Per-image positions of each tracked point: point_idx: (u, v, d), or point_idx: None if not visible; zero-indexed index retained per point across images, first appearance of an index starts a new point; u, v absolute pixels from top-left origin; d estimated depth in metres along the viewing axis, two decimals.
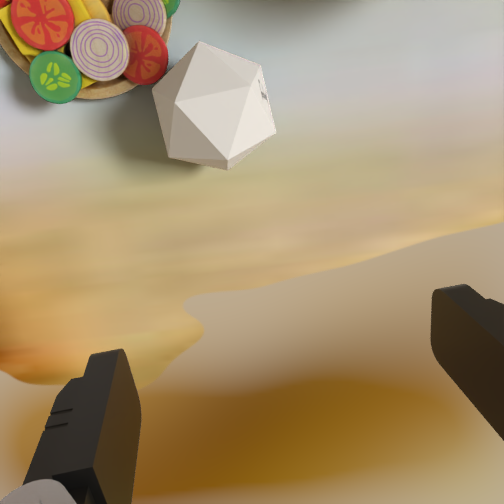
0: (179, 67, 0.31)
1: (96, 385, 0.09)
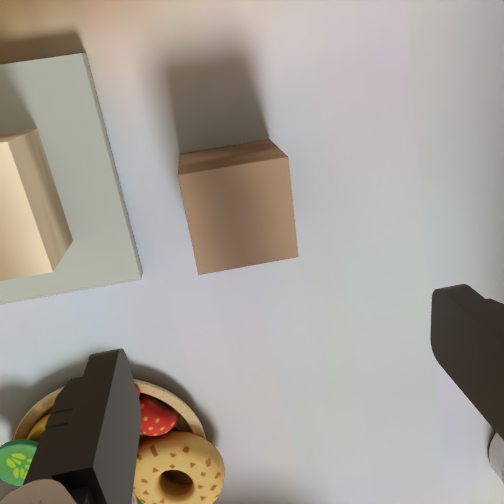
0: None
1: (96, 385, 0.09)
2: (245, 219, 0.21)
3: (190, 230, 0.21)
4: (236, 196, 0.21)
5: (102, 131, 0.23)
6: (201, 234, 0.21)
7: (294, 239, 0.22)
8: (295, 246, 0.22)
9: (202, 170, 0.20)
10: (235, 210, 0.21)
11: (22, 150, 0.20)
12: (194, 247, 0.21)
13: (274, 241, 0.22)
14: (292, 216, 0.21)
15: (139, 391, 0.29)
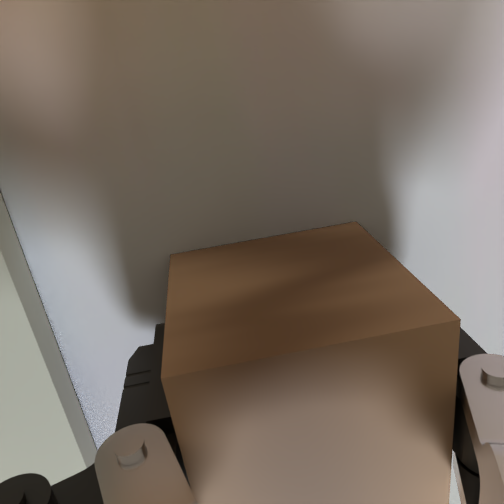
0: None
1: None
2: (334, 461, 0.08)
3: (195, 493, 0.08)
4: (315, 414, 0.08)
5: None
6: (222, 499, 0.08)
7: (445, 489, 0.09)
8: (444, 500, 0.09)
9: (229, 360, 0.07)
10: (310, 444, 0.08)
11: None
12: None
13: (398, 496, 0.09)
14: (448, 445, 0.09)
15: None
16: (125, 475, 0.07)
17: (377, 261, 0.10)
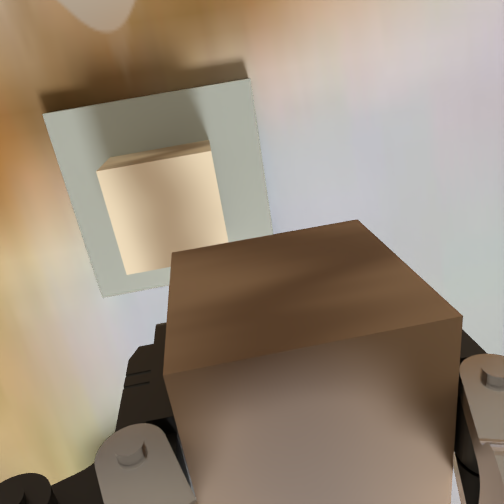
0: None
1: None
2: (336, 459, 0.08)
3: (197, 490, 0.08)
4: (317, 411, 0.08)
5: (259, 141, 0.27)
6: (224, 497, 0.08)
7: (447, 486, 0.09)
8: (446, 498, 0.09)
9: (231, 357, 0.07)
10: (313, 441, 0.08)
11: None
12: None
13: (399, 494, 0.09)
14: (450, 442, 0.09)
15: None
16: (125, 475, 0.07)
17: (379, 258, 0.10)
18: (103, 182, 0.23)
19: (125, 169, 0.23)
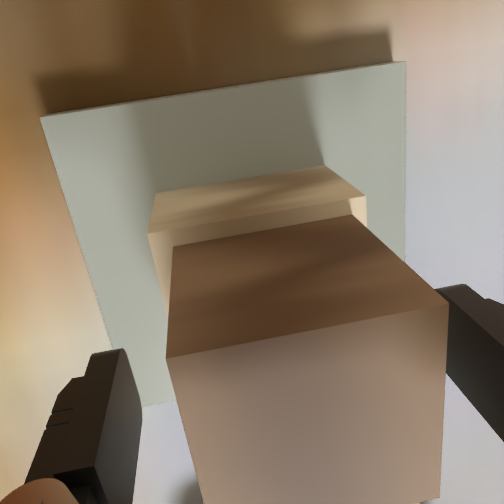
0: None
1: (97, 384, 0.09)
2: (330, 440, 0.09)
3: (198, 470, 0.09)
4: (311, 394, 0.08)
5: (403, 167, 0.16)
6: (224, 477, 0.09)
7: (436, 468, 0.09)
8: (436, 479, 0.10)
9: (229, 342, 0.08)
10: (307, 424, 0.09)
11: None
12: (207, 501, 0.09)
13: (391, 475, 0.09)
14: (439, 425, 0.09)
15: None
16: None
17: (372, 251, 0.10)
18: (160, 253, 0.12)
19: (204, 229, 0.12)
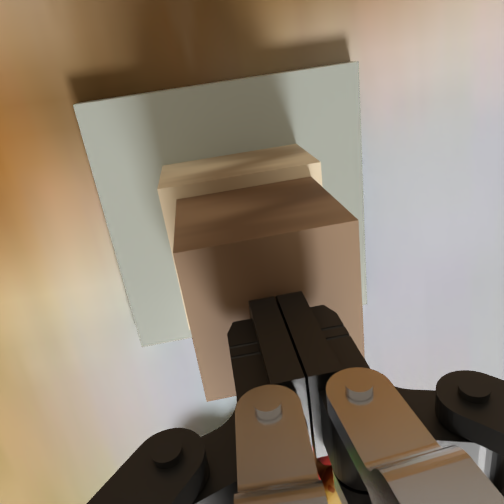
0: None
1: (270, 322, 0.11)
2: None
3: (194, 337, 0.13)
4: (269, 283, 0.12)
5: (360, 146, 0.21)
6: (211, 343, 0.13)
7: (360, 344, 0.14)
8: None
9: (214, 244, 0.12)
10: None
11: None
12: (200, 362, 0.13)
13: None
14: (359, 311, 0.13)
15: None
16: (272, 429, 0.08)
17: (318, 196, 0.14)
18: (166, 204, 0.16)
19: (199, 186, 0.16)
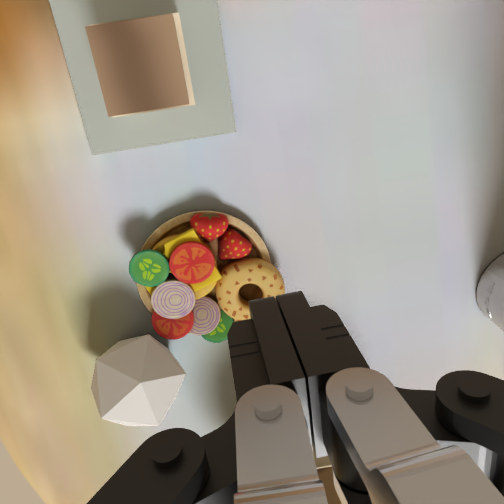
0: (166, 362, 0.41)
1: (269, 322, 0.11)
2: (142, 68, 0.27)
3: (98, 76, 0.27)
4: (133, 46, 0.26)
5: (219, 21, 0.34)
6: (107, 80, 0.27)
7: (184, 88, 0.27)
8: (186, 94, 0.28)
9: None
10: (133, 60, 0.26)
11: None
12: (103, 91, 0.27)
13: (168, 89, 0.27)
14: (181, 67, 0.27)
15: (228, 221, 0.41)
16: (271, 429, 0.08)
17: None
18: None
19: None
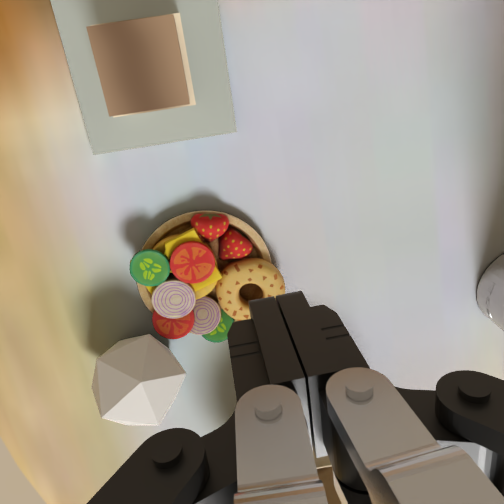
0: (166, 362, 0.41)
1: (269, 322, 0.11)
2: (143, 68, 0.27)
3: (99, 76, 0.27)
4: (134, 46, 0.26)
5: (220, 21, 0.35)
6: (108, 80, 0.27)
7: (185, 87, 0.28)
8: (186, 94, 0.28)
9: (105, 24, 0.26)
10: (134, 60, 0.27)
11: None
12: (104, 91, 0.27)
13: (168, 89, 0.27)
14: (181, 67, 0.27)
15: (228, 221, 0.41)
16: (272, 429, 0.08)
17: None
18: None
19: None
